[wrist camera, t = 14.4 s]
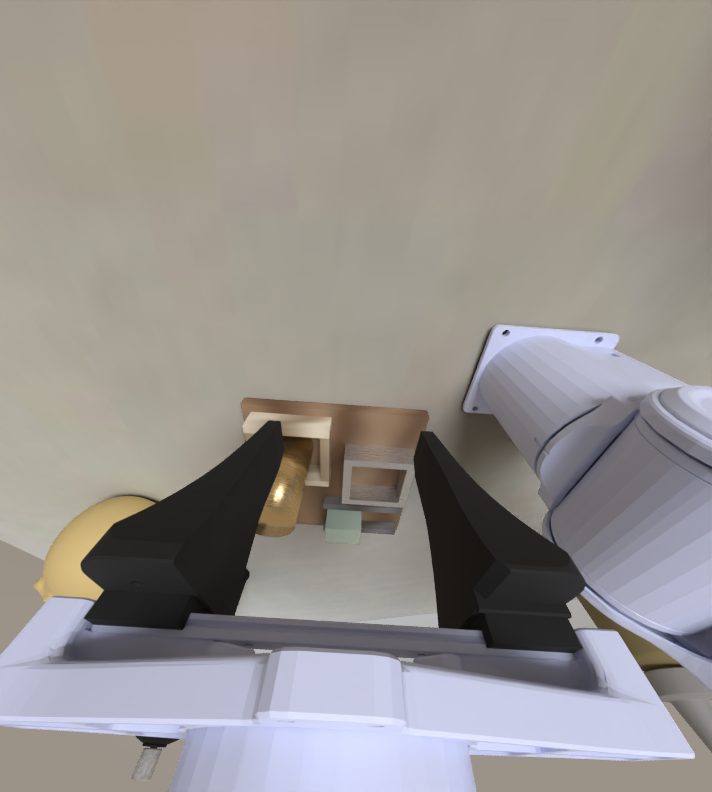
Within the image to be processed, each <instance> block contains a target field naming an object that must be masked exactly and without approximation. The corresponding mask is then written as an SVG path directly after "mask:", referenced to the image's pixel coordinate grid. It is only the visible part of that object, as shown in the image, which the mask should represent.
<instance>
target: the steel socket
mask: <svg viewBox="0 0 712 792" xmlns="http://www.w3.org/2000/svg"><path fill="white" fill-rule="evenodd" d="M414 454H415V453H414V449H403V448H389V447H375V446H360V445H345V456H344V471H343V488H342V504H355V505H370V506H385V507H400V508H405V505H406V501H407V498H408V494H409V491H410V488H411V484H412V481H413V478H414V474H415V471H414V461H413V458H414ZM352 466H354V467H369V468H384V469H398V470H400V474H399V478H398V482H397V486H396V487H392V486H378V485H363V484H351V475H352Z"/></svg>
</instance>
